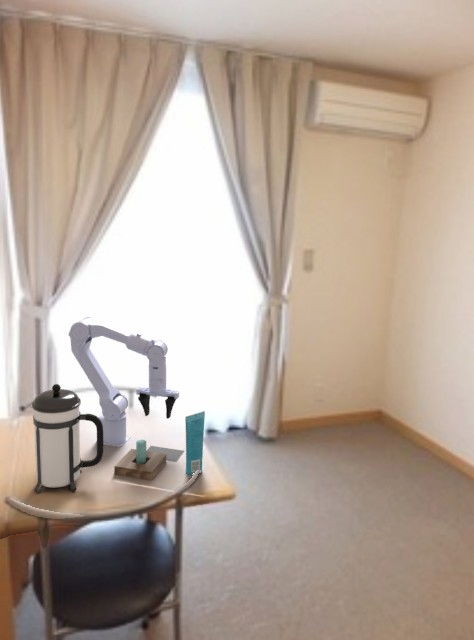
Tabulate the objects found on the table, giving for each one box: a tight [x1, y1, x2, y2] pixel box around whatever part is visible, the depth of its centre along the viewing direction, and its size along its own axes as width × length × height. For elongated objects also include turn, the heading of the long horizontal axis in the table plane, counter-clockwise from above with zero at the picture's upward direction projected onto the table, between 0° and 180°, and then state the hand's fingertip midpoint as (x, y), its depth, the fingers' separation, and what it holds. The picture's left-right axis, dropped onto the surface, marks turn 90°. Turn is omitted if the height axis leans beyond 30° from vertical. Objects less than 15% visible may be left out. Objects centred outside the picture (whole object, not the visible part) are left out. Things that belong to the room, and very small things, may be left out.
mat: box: [146, 445, 185, 463], centre depth 166 cm, size 12×8×1 cm, turn 77°
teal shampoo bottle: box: [185, 410, 206, 476], centre depth 154 cm, size 7×5×19 cm, turn 140°
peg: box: [135, 439, 147, 464], centre depth 155 cm, size 3×3×9 cm
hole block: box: [113, 448, 167, 481], centre depth 156 cm, size 12×12×3 cm
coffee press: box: [27, 383, 104, 494], centre depth 144 cm, size 17×16×30 cm
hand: (157, 416), depth 171 cm, fingers open, 7 cm apart
